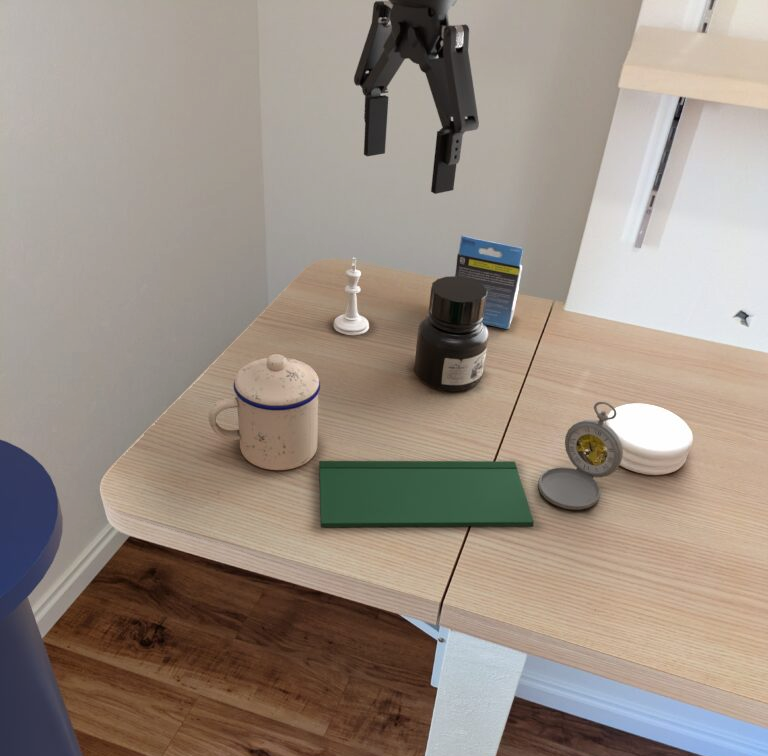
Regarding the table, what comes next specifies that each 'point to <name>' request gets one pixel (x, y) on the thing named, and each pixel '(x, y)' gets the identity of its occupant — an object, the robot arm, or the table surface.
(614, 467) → the pocket watch
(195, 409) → the table surface
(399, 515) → the green rectangular panel
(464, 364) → the ink bottle
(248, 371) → the teacup with lid
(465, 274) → the label tape box
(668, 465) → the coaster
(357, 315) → the chess piece
